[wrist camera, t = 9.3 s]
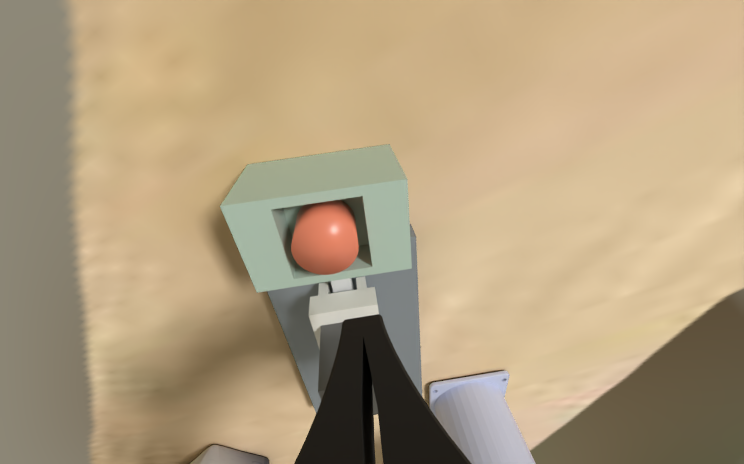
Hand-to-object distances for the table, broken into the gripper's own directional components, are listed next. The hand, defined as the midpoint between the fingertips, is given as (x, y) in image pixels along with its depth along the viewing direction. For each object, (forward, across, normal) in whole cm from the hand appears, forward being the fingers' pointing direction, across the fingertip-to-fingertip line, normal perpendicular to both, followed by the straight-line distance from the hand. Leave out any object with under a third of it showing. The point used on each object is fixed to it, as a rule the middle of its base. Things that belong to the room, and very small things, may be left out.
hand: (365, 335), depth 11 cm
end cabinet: (+10, +1, -1) cm, 10 cm away
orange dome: (+6, +1, -1) cm, 7 cm away
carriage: (+8, +1, +6) cm, 10 cm away
